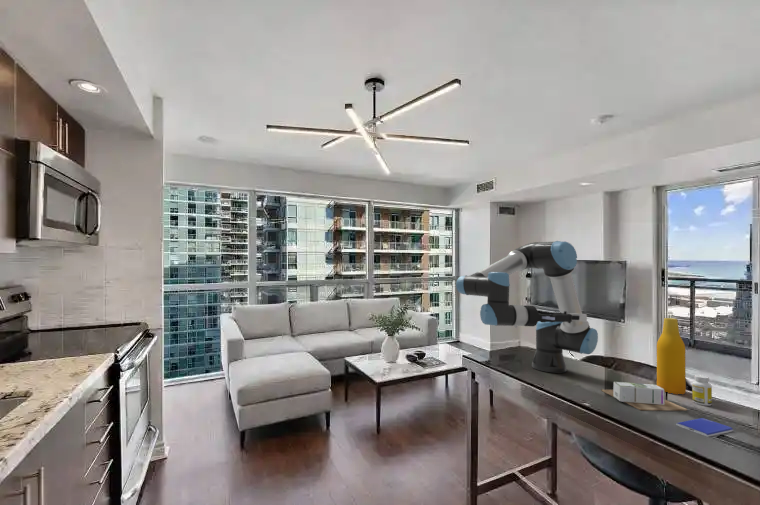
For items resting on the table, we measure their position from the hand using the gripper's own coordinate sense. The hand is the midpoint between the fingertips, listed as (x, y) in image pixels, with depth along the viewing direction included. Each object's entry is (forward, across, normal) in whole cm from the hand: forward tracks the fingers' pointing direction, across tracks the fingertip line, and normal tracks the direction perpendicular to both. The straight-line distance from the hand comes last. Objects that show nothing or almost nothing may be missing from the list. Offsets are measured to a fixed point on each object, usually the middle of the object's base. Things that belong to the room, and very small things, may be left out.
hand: (585, 317), depth 137 cm
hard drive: (+23, +24, -30) cm, 45 cm away
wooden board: (+22, 0, -30) cm, 37 cm away
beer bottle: (+43, -10, -30) cm, 53 cm away
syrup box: (+11, +1, -26) cm, 29 cm away
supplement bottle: (+43, +3, -30) cm, 52 cm away
